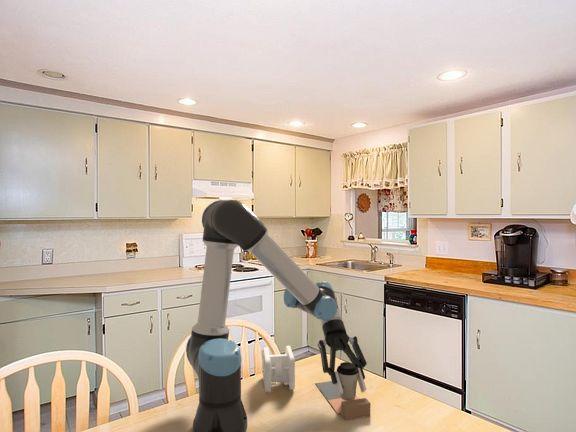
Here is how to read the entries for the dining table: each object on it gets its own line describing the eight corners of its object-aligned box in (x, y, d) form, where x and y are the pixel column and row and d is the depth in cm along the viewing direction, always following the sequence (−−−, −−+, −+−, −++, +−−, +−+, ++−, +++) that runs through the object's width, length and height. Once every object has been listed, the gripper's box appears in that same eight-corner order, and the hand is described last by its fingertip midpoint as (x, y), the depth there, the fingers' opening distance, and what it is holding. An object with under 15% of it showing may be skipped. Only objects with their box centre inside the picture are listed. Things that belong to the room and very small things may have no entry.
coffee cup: (363, 400, 116) (363, 368, 116) (343, 404, 113) (343, 372, 113) (351, 389, 122) (351, 359, 122) (332, 394, 120) (332, 363, 119)
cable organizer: (295, 394, 125) (295, 360, 124) (263, 396, 123) (263, 361, 123) (290, 374, 139) (289, 343, 139) (261, 376, 138) (261, 345, 138)
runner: (373, 415, 112) (373, 402, 112) (342, 420, 109) (342, 407, 109) (341, 380, 134) (341, 369, 134) (315, 384, 132) (315, 372, 132)
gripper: (355, 326, 135) (377, 392, 119) (302, 331, 129) (318, 401, 114) (361, 315, 129) (386, 383, 114) (307, 320, 124) (325, 392, 109)
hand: (352, 392), depth 114 cm, fingers closed on coffee cup, 7 cm apart
